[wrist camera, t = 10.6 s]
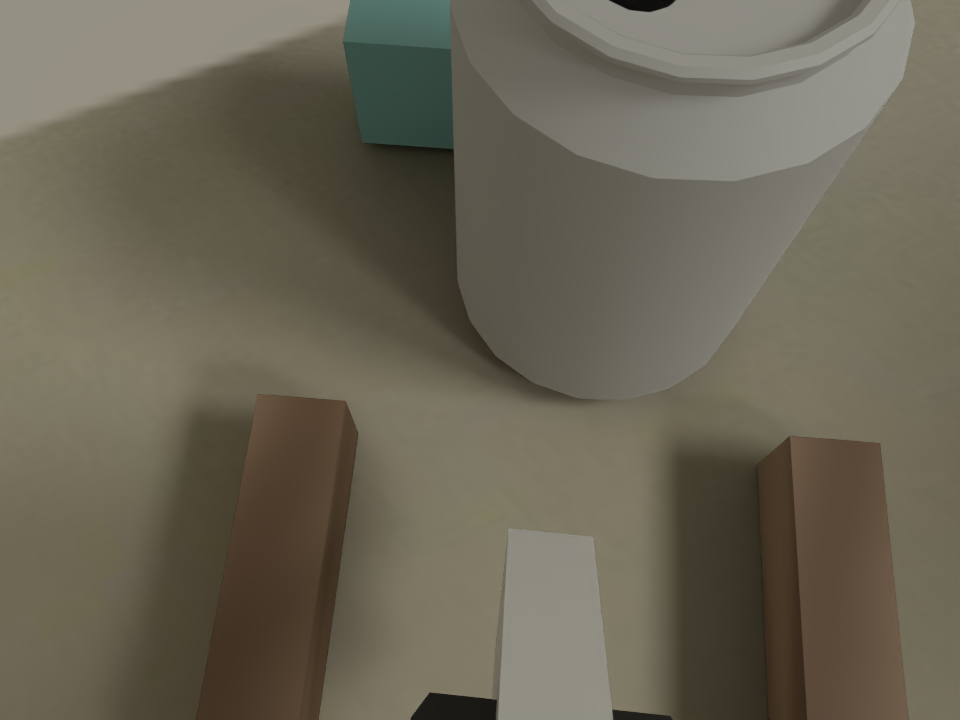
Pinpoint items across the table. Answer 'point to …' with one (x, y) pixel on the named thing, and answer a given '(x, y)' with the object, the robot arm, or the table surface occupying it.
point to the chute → (784, 556)
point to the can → (647, 168)
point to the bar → (401, 71)
